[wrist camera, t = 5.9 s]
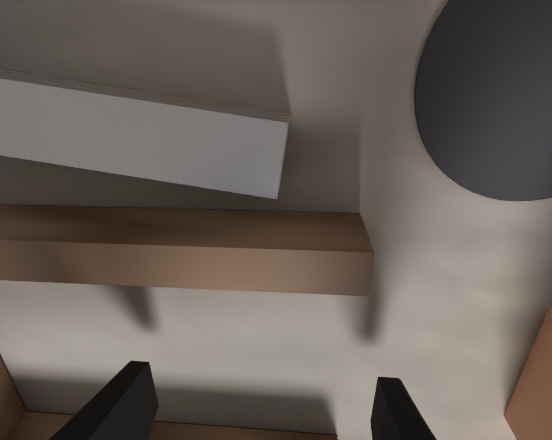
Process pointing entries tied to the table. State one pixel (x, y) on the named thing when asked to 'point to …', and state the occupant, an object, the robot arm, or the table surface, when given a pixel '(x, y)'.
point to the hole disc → (490, 97)
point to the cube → (534, 390)
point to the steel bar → (142, 134)
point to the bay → (177, 272)
